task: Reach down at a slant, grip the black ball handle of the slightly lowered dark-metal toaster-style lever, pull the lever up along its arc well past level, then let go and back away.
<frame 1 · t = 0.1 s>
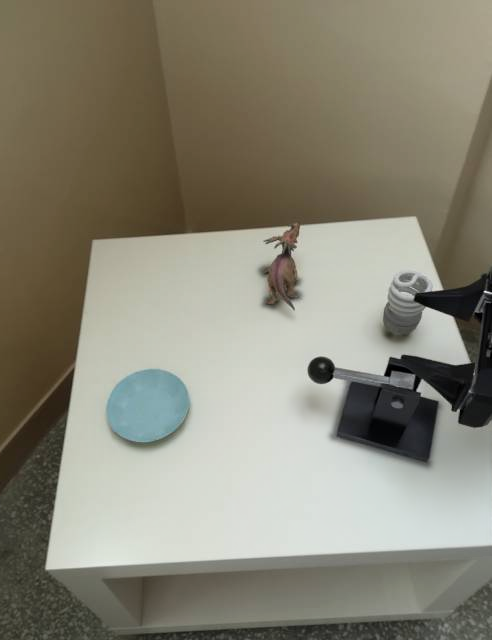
hand: (407, 326, 61), 17 cm above the table, tool horizontal, fingers open, 9 cm apart
dinosaur figurine: (280, 288, 88), on the table
bracket: (386, 420, 73), on the table
light bulb: (396, 332, 81), on the table
lever: (358, 377, 67), point 9 cm above the table, hinge at -8.0°
saucer: (150, 411, 77), on the table
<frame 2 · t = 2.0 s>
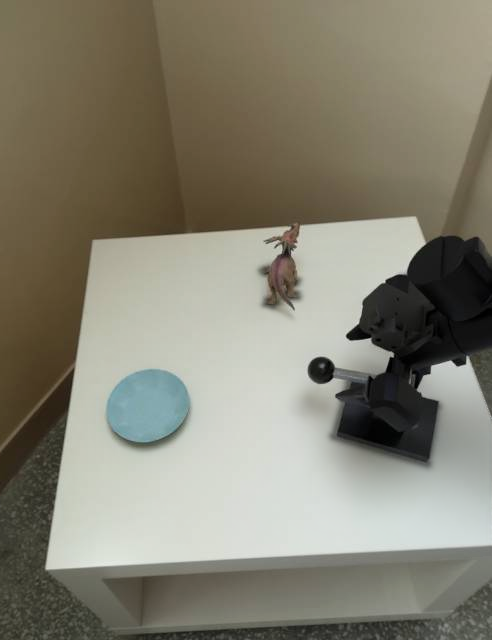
hand: (342, 366, 67), 10 cm above the table, tool tilted 45°, fingers open, 9 cm apart
nothing on the table moved.
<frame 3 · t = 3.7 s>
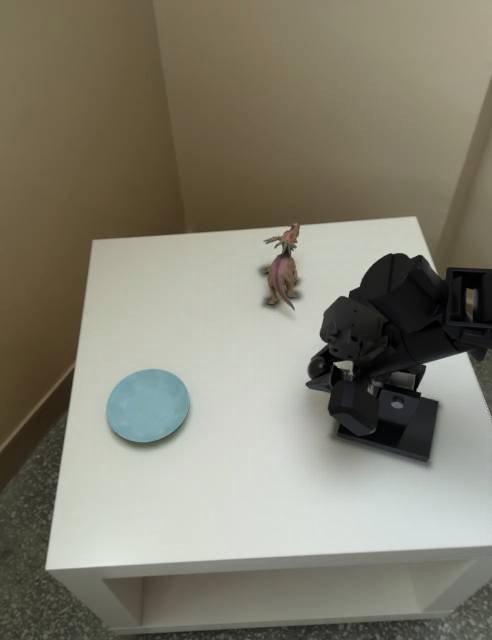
hand: (310, 373, 70), 7 cm above the table, tool tilted 45°, fingers closed on lever, 3 cm apart
lever: (358, 377, 67), point 9 cm above the table, hinge at -8.0°, touching gripper
everything else where it was.
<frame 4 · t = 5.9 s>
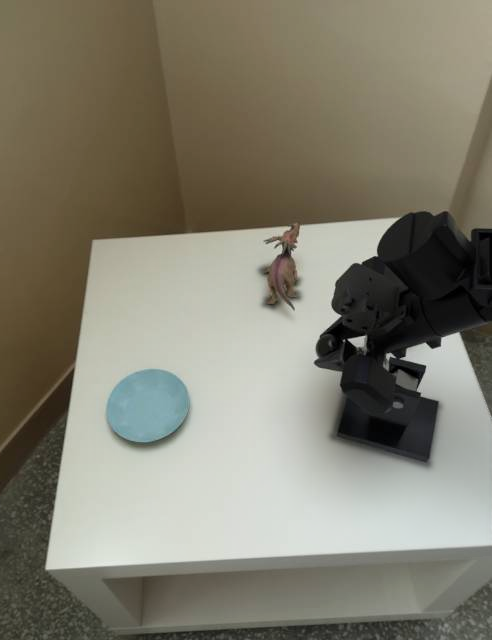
hand: (318, 351, 65), 12 cm above the table, tool tilted 45°, fingers closed on lever, 3 cm apart
lever: (364, 366, 65), point 11 cm above the table, hinge at 22.4°, touching gripper
everything else where it was.
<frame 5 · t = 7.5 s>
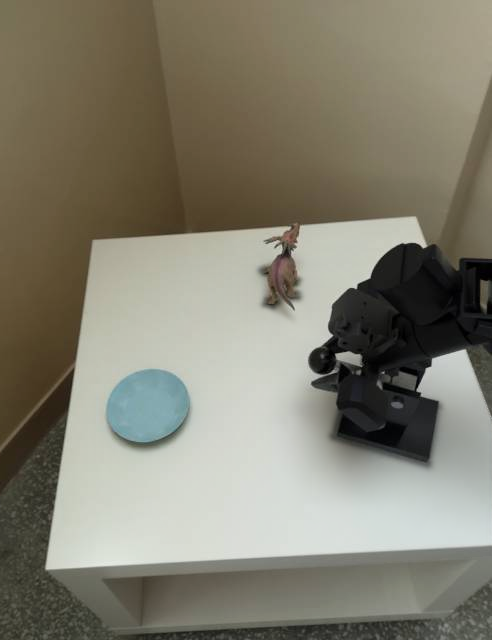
hand: (316, 368, 69), 8 cm above the table, tool tilted 45°, fingers open, 5 cm apart
lever: (359, 372, 66), point 10 cm above the table, hinge at 4.6°
everything else where it was.
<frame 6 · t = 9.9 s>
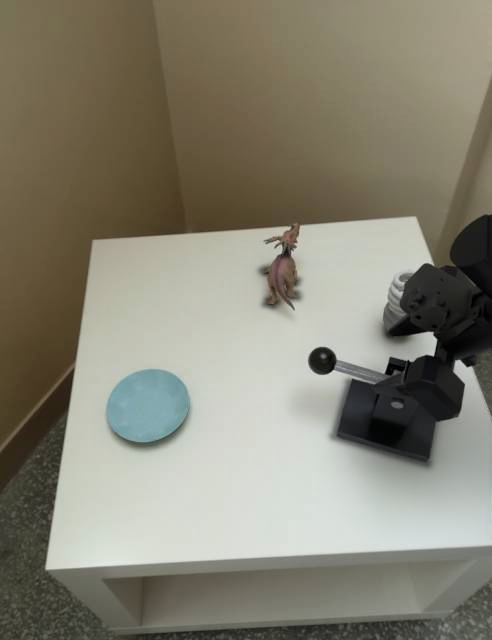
hand: (382, 360, 64), 12 cm above the table, tool tilted 40°, fingers open, 9 cm apart
nothing on the table moved.
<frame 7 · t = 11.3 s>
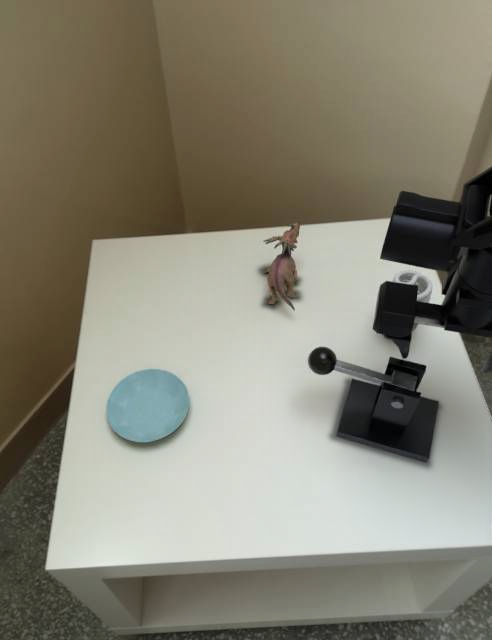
hand: (444, 362, 63), 12 cm above the table, tool pointing down, fingers open, 9 cm apart
nothing on the table moved.
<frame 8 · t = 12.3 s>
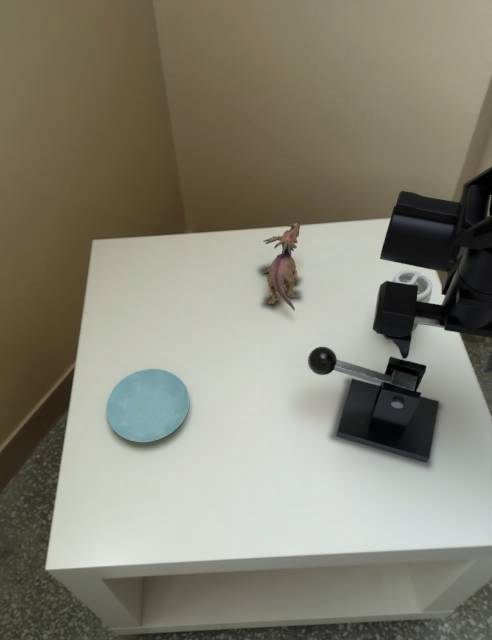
hand: (444, 362, 64), 12 cm above the table, tool pointing down, fingers open, 9 cm apart
nothing on the table moved.
at the end: lever reached +22° during the clip, +5° at the end; lever at +5° (first picture: -8°); the gripper is holding nothing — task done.
